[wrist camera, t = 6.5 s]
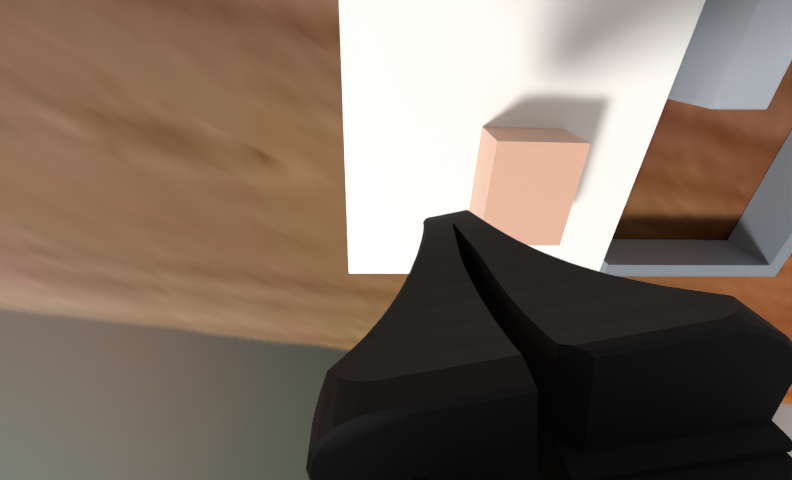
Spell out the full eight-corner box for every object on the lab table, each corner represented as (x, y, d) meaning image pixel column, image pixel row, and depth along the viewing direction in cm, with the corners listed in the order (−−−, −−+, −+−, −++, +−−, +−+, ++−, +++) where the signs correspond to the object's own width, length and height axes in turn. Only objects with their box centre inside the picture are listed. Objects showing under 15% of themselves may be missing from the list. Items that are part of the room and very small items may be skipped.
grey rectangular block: (691, -21, 17) (742, -20, 17) (651, 94, 19) (696, 94, 19) (774, -34, 13) (838, -33, 13) (712, 109, 16) (766, 109, 16)
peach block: (564, 128, 17) (591, 143, 15) (539, 221, 20) (559, 245, 18) (481, 126, 17) (497, 141, 15) (467, 220, 19) (479, 244, 17)
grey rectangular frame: (939, -95, 16) (1051, -119, 13) (732, 250, 24) (774, 276, 22) (703, -111, 15) (772, -141, 12) (578, 249, 24) (603, 276, 21)
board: (705, -118, 15) (761, -143, 13) (578, 251, 24) (598, 273, 22) (338, -144, 14) (332, -176, 12) (351, 250, 23) (348, 273, 21)
